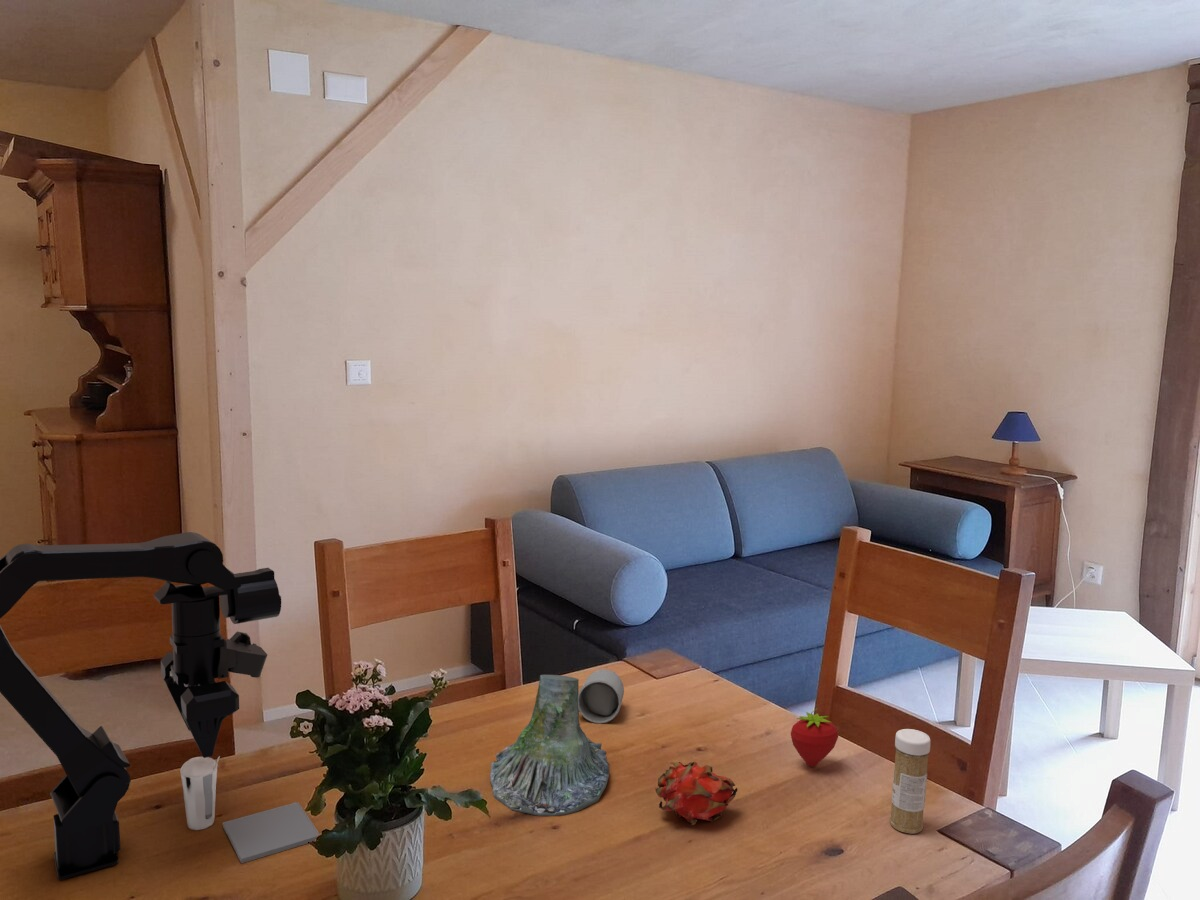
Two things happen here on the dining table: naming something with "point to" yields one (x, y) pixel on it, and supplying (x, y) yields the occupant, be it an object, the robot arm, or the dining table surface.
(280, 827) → the coaster
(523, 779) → the tree stump
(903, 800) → the spice jar
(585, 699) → the ceramic mug
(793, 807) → the dining table surface
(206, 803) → the milkshake
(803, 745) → the strawberry
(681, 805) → the dragon fruit
